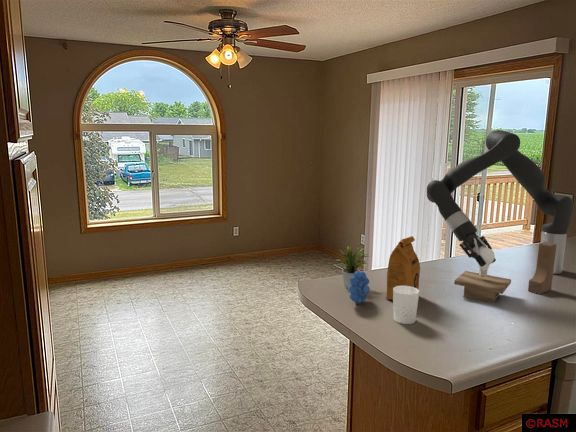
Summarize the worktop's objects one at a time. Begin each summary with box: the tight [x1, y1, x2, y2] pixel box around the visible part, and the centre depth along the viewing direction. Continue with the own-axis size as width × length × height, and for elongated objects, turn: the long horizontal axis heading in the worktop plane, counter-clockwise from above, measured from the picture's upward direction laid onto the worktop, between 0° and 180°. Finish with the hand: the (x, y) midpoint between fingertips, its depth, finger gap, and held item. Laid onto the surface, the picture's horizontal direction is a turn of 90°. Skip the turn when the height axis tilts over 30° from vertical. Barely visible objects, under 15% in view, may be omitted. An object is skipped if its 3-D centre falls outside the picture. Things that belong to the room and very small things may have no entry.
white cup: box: [392, 286, 420, 325], centre depth 136 cm, size 8×8×10 cm
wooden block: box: [527, 242, 556, 295], centre depth 162 cm, size 9×4×18 cm, turn 125°
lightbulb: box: [478, 246, 496, 277], centre depth 156 cm, size 6×6×11 cm
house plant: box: [336, 244, 370, 289], centre depth 164 cm, size 14×14×16 cm
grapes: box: [347, 270, 371, 305], centre depth 148 cm, size 12×7×12 cm, turn 139°
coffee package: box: [386, 235, 421, 301], centre depth 153 cm, size 10×12×22 cm
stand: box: [453, 270, 512, 303], centre depth 157 cm, size 14×16×6 cm
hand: (488, 263), depth 155 cm, fingers closed on lightbulb, 6 cm apart
